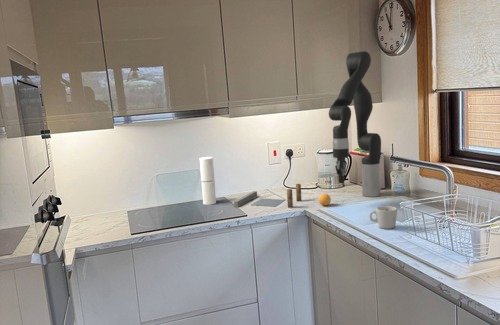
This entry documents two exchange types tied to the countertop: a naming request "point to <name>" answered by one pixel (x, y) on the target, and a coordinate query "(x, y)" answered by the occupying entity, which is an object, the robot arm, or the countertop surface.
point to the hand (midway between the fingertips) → (341, 182)
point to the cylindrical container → (207, 180)
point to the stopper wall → (245, 199)
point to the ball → (324, 199)
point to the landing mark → (268, 202)
